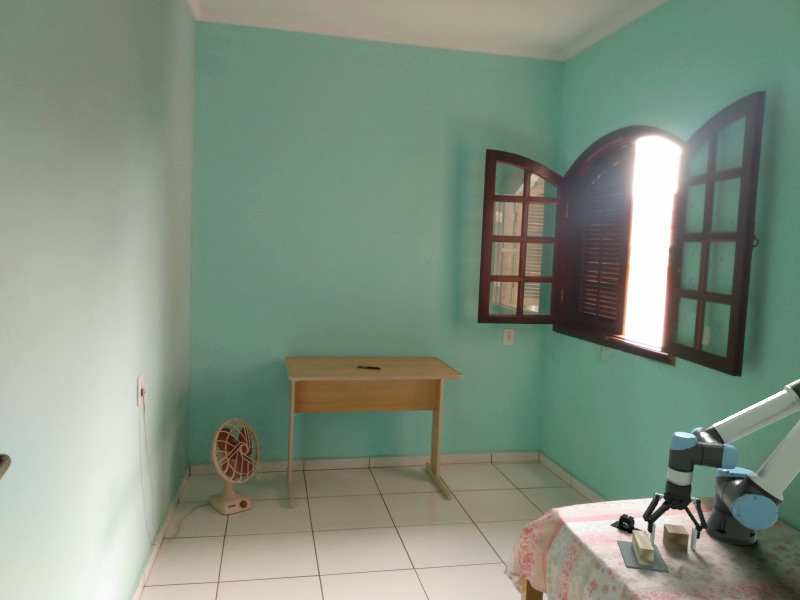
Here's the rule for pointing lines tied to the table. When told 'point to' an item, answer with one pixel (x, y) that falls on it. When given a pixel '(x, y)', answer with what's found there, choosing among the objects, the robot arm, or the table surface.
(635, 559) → the mat
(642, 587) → the table surface
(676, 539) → the walnut cube
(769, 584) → the table surface
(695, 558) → the table surface
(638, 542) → the plinth
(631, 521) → the black plastic holder
